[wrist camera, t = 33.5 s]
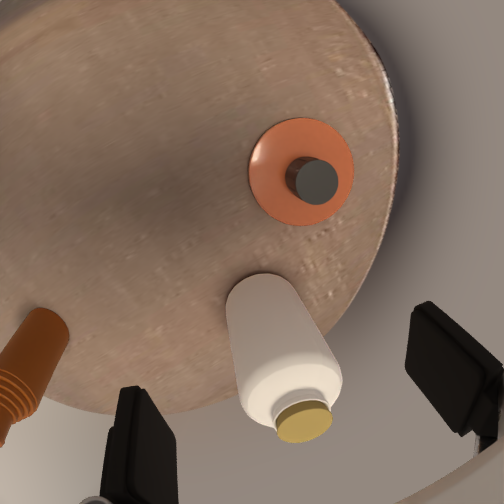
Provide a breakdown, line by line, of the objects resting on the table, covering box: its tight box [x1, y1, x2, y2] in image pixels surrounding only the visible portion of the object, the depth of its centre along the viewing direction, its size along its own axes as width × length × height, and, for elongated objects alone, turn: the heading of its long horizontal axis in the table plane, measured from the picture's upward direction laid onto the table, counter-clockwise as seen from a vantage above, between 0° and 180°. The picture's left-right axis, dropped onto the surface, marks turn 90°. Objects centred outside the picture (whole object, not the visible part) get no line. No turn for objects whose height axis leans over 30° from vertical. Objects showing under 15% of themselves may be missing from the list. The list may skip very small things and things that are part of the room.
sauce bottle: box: [0, 308, 69, 447], centre depth 25 cm, size 6×6×18 cm
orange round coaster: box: [248, 118, 354, 226], centre depth 31 cm, size 11×11×1 cm
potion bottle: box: [225, 273, 343, 443], centre depth 28 cm, size 8×8×18 cm
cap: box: [285, 156, 338, 205], centre depth 29 cm, size 4×4×4 cm
